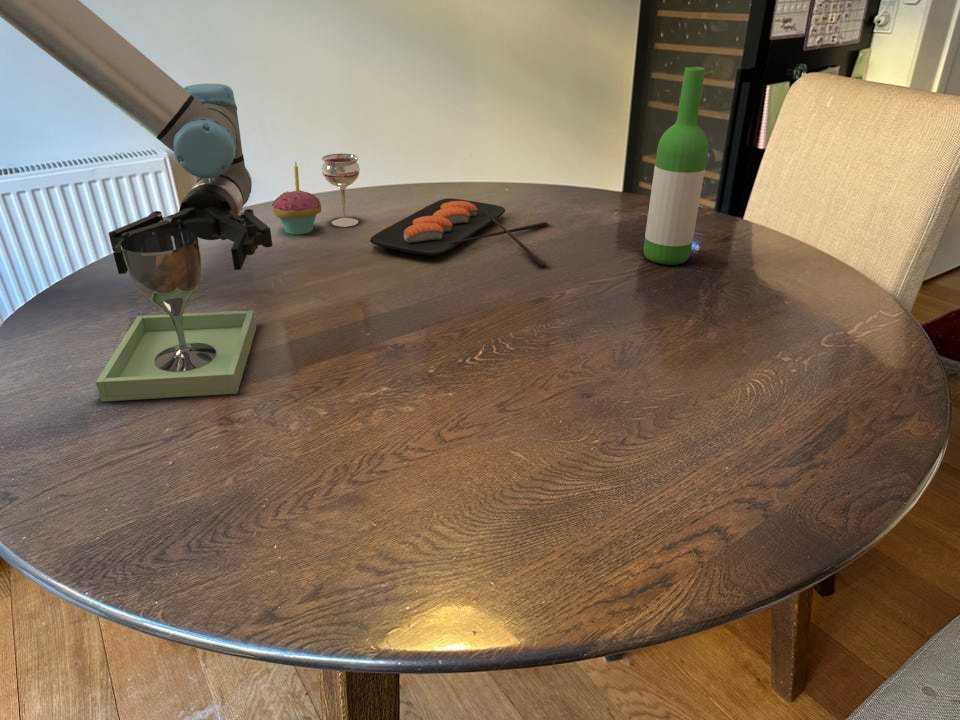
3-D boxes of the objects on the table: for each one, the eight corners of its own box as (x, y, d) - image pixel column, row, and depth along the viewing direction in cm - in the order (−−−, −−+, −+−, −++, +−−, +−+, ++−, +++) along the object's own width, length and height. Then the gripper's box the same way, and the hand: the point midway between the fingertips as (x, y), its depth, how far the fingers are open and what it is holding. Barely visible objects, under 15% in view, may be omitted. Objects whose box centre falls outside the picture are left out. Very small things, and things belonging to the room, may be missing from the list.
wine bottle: (639, 263, 116) (665, 69, 101) (645, 247, 123) (670, 63, 108) (687, 269, 114) (721, 72, 99) (690, 253, 121) (723, 66, 106)
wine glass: (233, 353, 87) (212, 237, 79) (177, 380, 81) (149, 258, 73) (192, 335, 90) (168, 223, 83) (136, 360, 85) (105, 242, 77)
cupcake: (283, 222, 131) (275, 157, 125) (328, 223, 131) (322, 158, 125) (269, 238, 124) (260, 170, 118) (317, 239, 124) (310, 171, 118)
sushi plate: (445, 205, 142) (444, 187, 140) (586, 229, 131) (588, 209, 129) (363, 251, 119) (361, 229, 117) (526, 284, 108) (527, 261, 106)
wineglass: (339, 230, 128) (333, 164, 122) (319, 221, 132) (313, 157, 126) (370, 223, 132) (366, 158, 126) (350, 214, 136) (345, 151, 130)
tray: (101, 401, 78) (95, 382, 77) (142, 333, 92) (137, 315, 91) (237, 393, 80) (233, 374, 78) (256, 327, 94) (253, 310, 93)
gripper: (116, 184, 100) (60, 235, 82) (295, 181, 103) (279, 229, 85) (129, 234, 104) (77, 293, 86) (301, 230, 107) (286, 285, 89)
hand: (178, 261), depth 85 cm, fingers open, 13 cm apart
